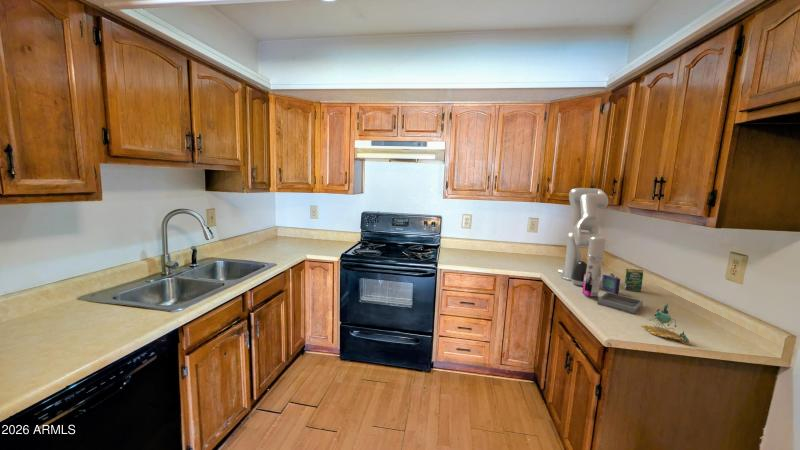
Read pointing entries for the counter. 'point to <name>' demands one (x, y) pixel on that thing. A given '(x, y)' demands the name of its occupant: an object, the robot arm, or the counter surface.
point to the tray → (620, 303)
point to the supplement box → (594, 287)
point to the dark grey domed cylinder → (579, 273)
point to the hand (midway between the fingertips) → (590, 288)
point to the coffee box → (633, 280)
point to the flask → (610, 283)
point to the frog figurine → (665, 318)
